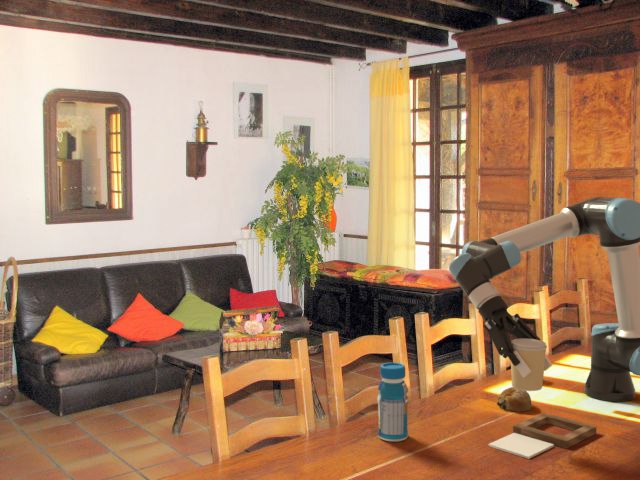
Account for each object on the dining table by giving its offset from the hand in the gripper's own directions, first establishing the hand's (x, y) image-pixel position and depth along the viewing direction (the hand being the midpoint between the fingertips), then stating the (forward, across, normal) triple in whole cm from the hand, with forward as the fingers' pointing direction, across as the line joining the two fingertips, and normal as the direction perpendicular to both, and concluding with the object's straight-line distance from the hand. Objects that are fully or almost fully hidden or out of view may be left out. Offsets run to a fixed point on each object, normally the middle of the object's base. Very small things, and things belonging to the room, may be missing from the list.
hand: (538, 371), depth 192 cm
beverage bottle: (-7, +22, -36) cm, 43 cm away
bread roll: (-1, -23, -30) cm, 38 cm away
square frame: (+13, -12, -15) cm, 23 cm away
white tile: (+13, +3, -16) cm, 20 cm away
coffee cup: (+1, 0, -6) cm, 6 cm away
